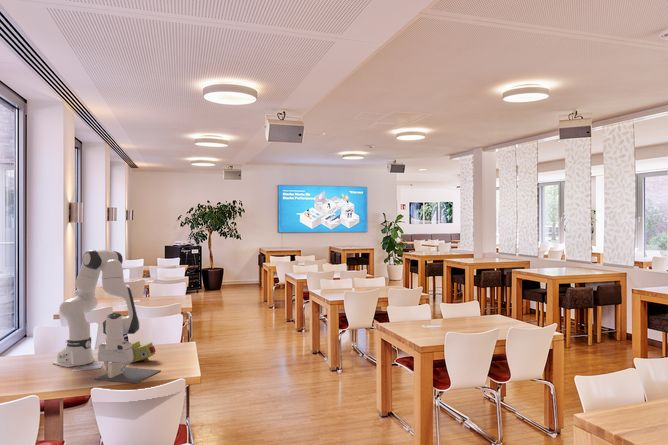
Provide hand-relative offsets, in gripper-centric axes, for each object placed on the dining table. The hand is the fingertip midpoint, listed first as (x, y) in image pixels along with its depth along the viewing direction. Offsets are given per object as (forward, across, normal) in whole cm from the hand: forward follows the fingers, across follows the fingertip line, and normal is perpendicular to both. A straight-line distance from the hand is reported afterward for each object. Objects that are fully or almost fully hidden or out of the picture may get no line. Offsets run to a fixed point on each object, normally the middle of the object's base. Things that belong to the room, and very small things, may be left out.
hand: (115, 370), depth 261 cm
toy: (+4, -6, +26) cm, 27 cm away
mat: (+3, +6, +3) cm, 7 cm away
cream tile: (+3, 0, 0) cm, 3 cm away
